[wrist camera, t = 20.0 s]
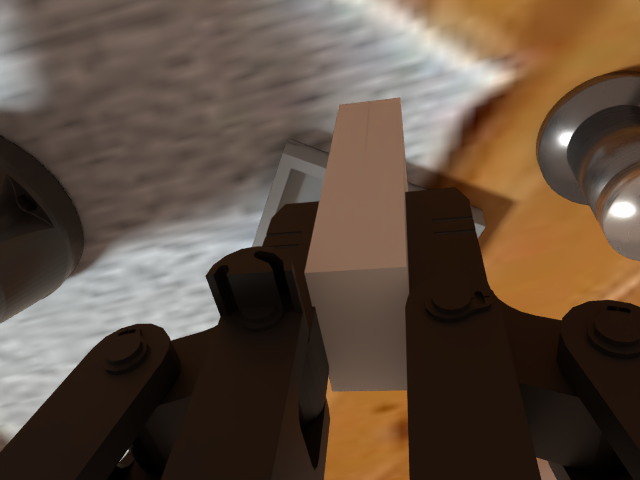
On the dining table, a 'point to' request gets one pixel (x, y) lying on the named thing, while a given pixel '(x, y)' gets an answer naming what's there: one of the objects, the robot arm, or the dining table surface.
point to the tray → (310, 185)
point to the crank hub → (591, 136)
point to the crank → (622, 211)
